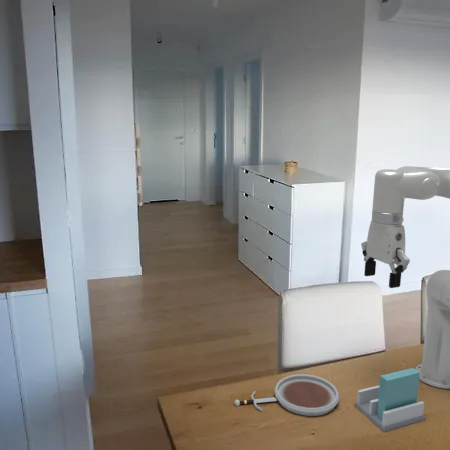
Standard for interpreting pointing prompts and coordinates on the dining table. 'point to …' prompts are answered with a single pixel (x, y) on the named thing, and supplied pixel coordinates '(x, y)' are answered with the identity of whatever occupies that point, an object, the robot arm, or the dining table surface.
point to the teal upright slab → (397, 390)
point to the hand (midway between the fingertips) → (381, 281)
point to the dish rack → (391, 418)
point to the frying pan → (302, 395)
